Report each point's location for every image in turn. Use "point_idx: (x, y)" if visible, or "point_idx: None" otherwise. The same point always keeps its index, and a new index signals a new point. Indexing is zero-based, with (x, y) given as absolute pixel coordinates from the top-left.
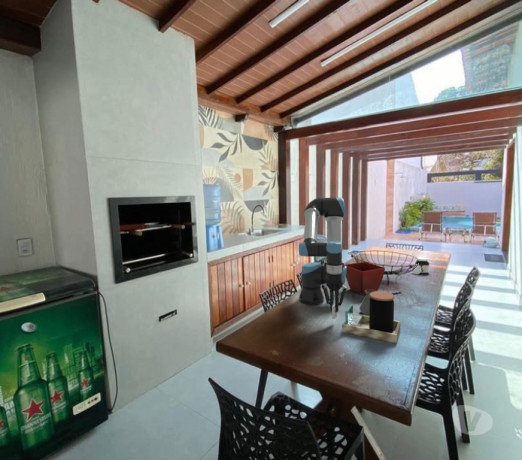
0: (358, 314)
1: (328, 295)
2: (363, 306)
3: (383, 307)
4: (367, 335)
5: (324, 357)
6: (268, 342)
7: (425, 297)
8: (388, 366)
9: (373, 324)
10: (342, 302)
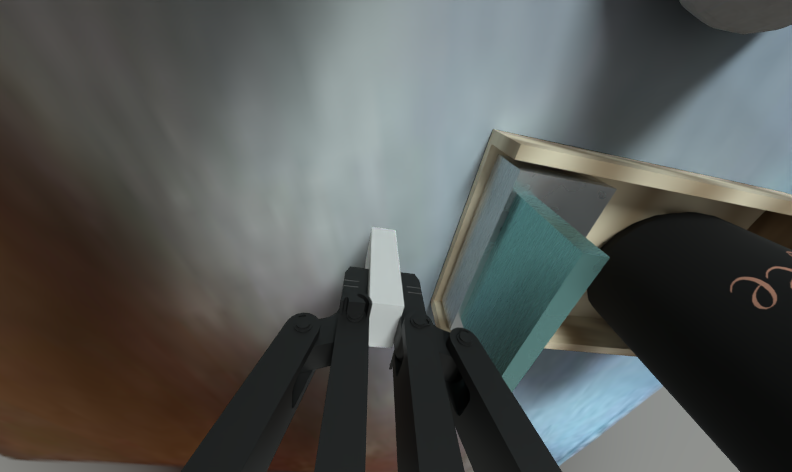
0: (592, 166)
1: (269, 429)
2: None
3: None
4: None
5: (378, 434)
6: (158, 425)
7: None
8: (553, 422)
9: (626, 344)
10: (484, 353)
